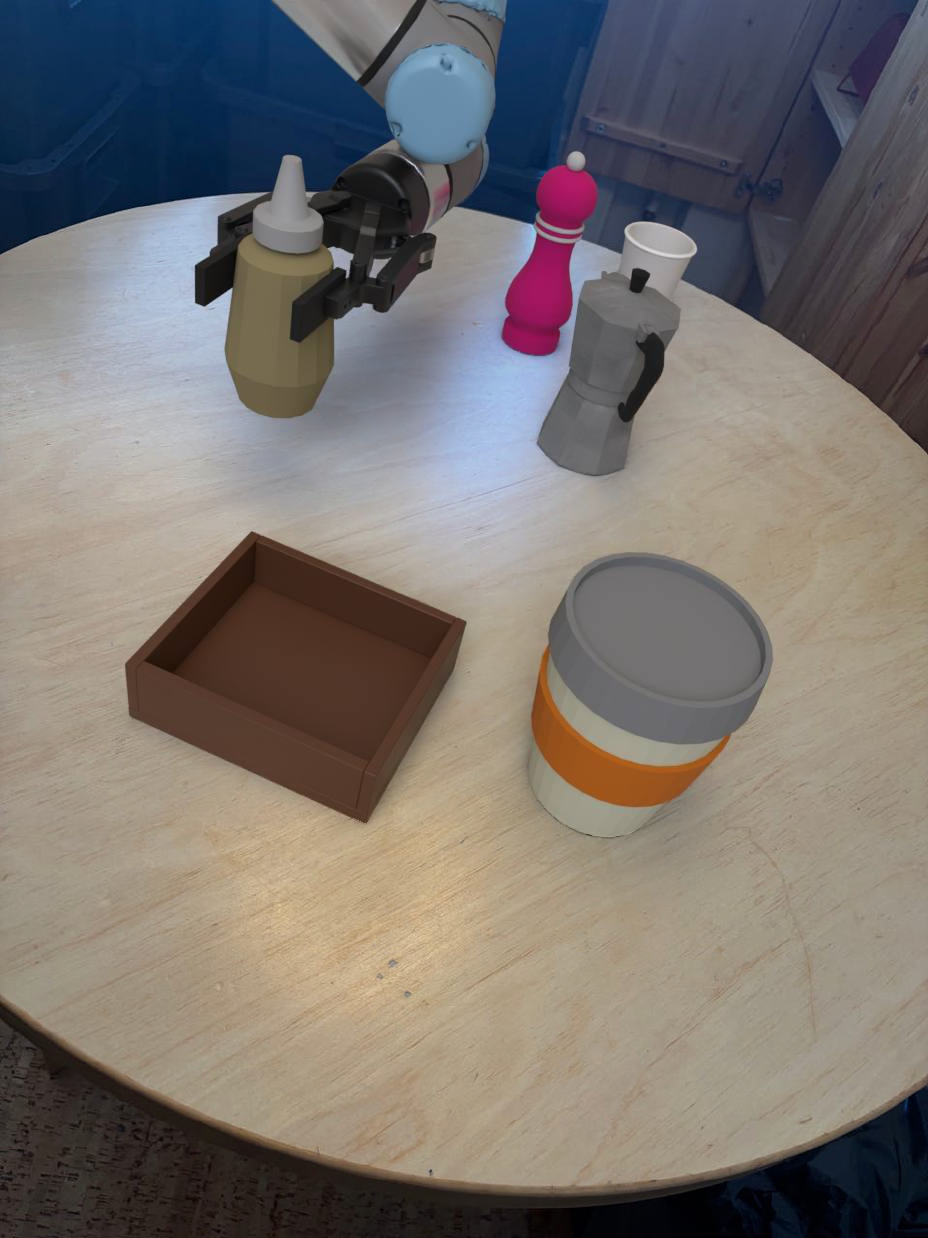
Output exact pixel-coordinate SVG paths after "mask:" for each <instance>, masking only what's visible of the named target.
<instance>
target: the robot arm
mask: <svg viewBox="0 0 928 1238" xmlns="http://www.w3.org/2000/svg"><path fill="white" fill-rule="evenodd" d="M269 1H270V2H271V3H272V4H273V5H274V6H276V7H277V9H279V11H281V12H282V13H283V14H284V15H285V16H286V17H287V18H288V19H289V20H290V21H291V22H292V23H293V24H295V26H296V27H297V28H299V29H300V30H301V31H302V32H303V34H305V35H306V36H307V37H308V38H309V39H310V40H311V41H312V42H314V43H315V44H316V46H318V47H319V49H320V50H322V51H323V52H324V53H325V54H326V55H327V56H328V57H329V58H330V59H332V61H334V62H335V63H336V64H337V65H338V66H339V67H340V68H341V69H342V70H343V71H344V72H345V73H346V74H347V75H348V76H350V78H352V80H354V81H355V83H356V84H358V85H359V86H360V87H361V88H362V89H363V90H364V91H365V92H366V93H367V94H368V95H369V96H370V97H371V98H372V99H373V100H374V101H375V103H377V104H378V105H379V106H380V107H381V108H383V110H385V116H386V120H387V122H388V126H389V129H390V131H391V134H392V135H393V138H392V139H391V140H390V141H388V142H386V143H385V144H382V145H381V146H379V147H378V148H376V149H374V150H372V151H371V152H369V153H368V154H367V155H365V156H364V157H362V158H361V159H359V160H357V161H356V162H354V163H353V164H351V165H349V166H348V167H347V168H345V169H344V170H343V171H342V172H341V173H340V174H339V175H338V176H337V178H336V179H335V181H334V182H333V183H332V185H331V187H330V188H329V190H324V191H318V192H315V193H314V194H313V195H312V196H306V197H307V205H308V207H310V208H312V209H314V210H315V211H316V212H318V213H319V214H320V215H321V216H322V219H323V222H324V225H323V236H322V244H323V245H324V246H325V247H326V248H327V249H331V248H335V249H340V250H342V251H344V252H346V253H349V254H351V255H352V259H349V268H348V269H349V271H348V269H345V268H342V267H339V266H335V267H334V270H332V271H331V272H330V273H329V274H328V275H326V276H325V277H323V278H322V279H321V280H320V281H318V282H317V283H316V284H314V285H313V286H312V287H311V288H309V289H308V290H307V291H305V292H304V293H303V294H302V295H300V296H299V297H298V298H297V299H295V300H294V301H293V302H292V313H291V327H290V340H293V341H295V342H298V343H301V342H302V341H303V340H304V339H305V338H306V337H308V336H309V335H310V334H311V333H312V332H313V331H315V330H316V329H317V328H318V327H319V326H320V325H322V324H323V323H324V322H325V321H326V320H327V319H329V318H333V319H334V320H336V321H337V320H340V319H342V318H344V317H345V316H346V315H347V314H348V313H349V312H351V311H352V310H353V309H354V308H358V309H359V308H361V307H363V305H364V304H368V305H371V308H372V310H373V311H375V312H377V313H380V314H385V313H388V312H389V311H390V310H391V309H392V307H393V306H394V305H395V303H397V301H398V300H399V298H400V297H401V296H402V295H403V293H404V292H405V291H406V290H407V288H408V287H409V286H410V284H411V283H412V282H413V281H414V279H415V278H416V277H417V275H420V274H422V273H424V272H426V271H429V270H430V269H432V267H433V262H434V257H435V251H436V245H437V235H436V234H434V233H432V232H426V231H428V230H429V229H430V228H431V227H432V226H434V225H435V224H436V223H437V222H438V221H440V219H442V218H443V217H444V216H445V215H446V214H447V213H449V212H450V211H451V210H453V208H456V207H457V206H459V205H461V204H462V203H464V202H465V201H467V200H468V199H469V197H470V196H471V195H472V194H473V193H474V191H475V189H476V188H478V187H479V185H480V184H481V182H482V180H483V179H484V177H485V175H486V174H487V170H488V166H489V163H490V162H489V161H490V150H489V149H490V148H489V145H488V141H487V137H486V133H487V130H488V127H489V124H490V121H491V119H492V118H493V116H494V110H495V108H496V86H495V82H496V76H497V75H496V74H497V66H498V65H497V64H498V54H499V50H500V46H501V45H500V44H501V40H502V34H503V30H504V27H505V24H506V11H507V10H506V9H507V3H508V0H269ZM273 192H274V189H273V190H271V191H269V192H266V193H265V194H263V195H261V196H260V195H259V196H258V197H256V198H254V199H252V200H250V201H248V202H245V203H243V204H241V205H239V206H236V207H234V208H232V209H230V210H228V211H226V212H224V213H220V214H219V215H217V226H216V227H217V230H216V231H217V233H216V234H217V236H216V237H217V239H216V240H217V241H216V242H217V243H216V244H217V245H215V246H213V247H211V248H210V250H209V255H208V256H207V257H205V258H204V259H202V260H200V261H199V262H196V264H194V304H195V305H199V306H201V307H207V306H209V305H210V304H211V303H213V302H214V301H216V300H218V298H220V297H222V296H223V295H224V294H226V293H227V292H228V291H230V290H231V289H232V288H233V281H234V273H235V266H236V258H237V251H238V245H239V244H240V243H241V241H242V240H243V239H244V238H245V237H247V236H248V235H250V234H252V233H253V210H254V209H255V208H256V207H257V205H259V204H262V203H264V202H267V201H271V199H272V196H273ZM375 260H379V261H380V260H388V261H387V262H386V263H385V264H384V265H383V267H382V268H381V269H380V270H379V271H378V273H377V274H376V276H375V277H373V276H370V275H371V271H372V270H373V266H374V261H375ZM347 271H348V276H347Z"/></svg>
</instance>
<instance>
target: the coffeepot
mask: <svg viewBox="0 0 928 1238" xmlns="http://www.w3.org/2000/svg"><path fill="white" fill-rule="evenodd" d="M618 272H619V271H618ZM618 272H617V271H613V272H610V273H608V272H607V271H606V270H602V271H601V278H596V279H588V280H584V281H583V284H582V286H581V289H580V293H579V297H578V301H577V309H576V315H575V321H574V329H573V335H572V336H573V337H572V340H571V341H572V342H571V349H570V355H569V362H568V366H569V371H568V373H567V374H566V377H565V379H564V380H563V383H562V385H561V386H560V389H559V391H558V393H557V394H556V396H555V398H554V400H553V401H552V404H551V406H550V407H549V410H548V412H547V414H546V416H545V418H544V419H543V422H542V425H541V428H540V431H539V434H538V437H537V441H536V443H537V445H538V446H539V447H540V449H541V450H542V452H543V453H544V454H545V455H546V457H548V458H549V459H550V460H551V461H553V462H554V463H556V464H557V465H558V466H560V467H563V468H564V469H566V470H569V471H572V472H574V473H578V474H582V475H586V476H587V475H588V476H606V475H610V474H613V473H616V472H617V471H619V470H622V469H625V466H626V461H627V455H628V449H629V445H630V441H631V434H632V430H633V425H634V420H635V415H636V414H637V413H638V411H639V410H640V408H641V407H642V405H643V404H644V402H645V400H646V399H647V397H648V396H649V394H651V393H650V392H651V391H652V390H653V388H654V387H655V386H656V384H657V383H658V381H659V379H660V378H661V377H662V375H663V372H664V369H665V352H666V351H667V348H668V347H669V345H670V343H671V342H672V340H673V338H674V336H675V334H676V332H677V331H678V330H679V328H680V321H681V320H680V319H681V312H682V308H680V307H679V306H678V305H677V304H676V303H674V302H673V301H672V300H671V299H670V300H669V299H668V298H666V297H665V296H664V295H663V294H661V293H660V292H659V291H657V290H656V289H655V288H651V287H648V286H645V284H646V283H647V281H648V279H649V277H650V273H649V272H647V271H646V270H643V269H640V268H634V269H632V274H631V280H630V279H629V278H627V277H626V276H625V275H621V274H620V273H618Z"/></svg>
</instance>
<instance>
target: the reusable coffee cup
mask: <svg viewBox="0 0 928 1238" xmlns="http://www.w3.org/2000/svg"><path fill="white" fill-rule="evenodd" d="M549 621H550V622H549V627H548V632H547V639H548V641H547V646H546V647H545V650H544V651H543V653H542V655H541V662H540V664H539V665H540V666H539V671H538V675H537V680H536V681H537V682H536V686H535V693H534V698H533V702H532V708H531V714H530V718H531V719H530V720H531V732H532V734H533V739H532V743H531V748H530V754H529V759H528V764H527V772H528V774H529V776H528V780H529V784H530V783H531V784H530V788H531V787H532V788H531V790H532V789H533V790H532V792H533V791H534V792H533V794H534V796H535V795H536V796H537V798H538V800H539V801H540V802H541V803H540V802H539V801H538V800H537V801H538V802H539V803H540V805H541V804H542V805H543V806H544V807H543V806H542V805H541V806H542V807H543V809H544V808H546V810H547V811H548V812H549V813H551V814H552V815H553V816H555V818H557V819H558V820H559V821H561V822H562V823H565V825H567V826H570V827H572V828H574V829H576V830H579V831H582V832H584V833H588V834H592V835H600V836H616V835H623V834H627V833H629V832H632V831H635V830H637V829H639V828H640V827H641V828H643V827H644V826H645V825H646V824H647V823H648V822H650V820H651V819H652V818H653V817H654V815H655V814H656V813H657V812H659V810H661V808H662V807H663V806H664V804H666V803H668V802H670V801H672V800H674V799H677V798H678V797H679V796H681V795H682V794H683V793H684V792H686V790H687V789H688V788H689V787H691V785H692V784H693V783H694V782H695V781H696V780H697V779H698V778H699V777H700V775H701V774H702V773H703V772H704V771H705V770H706V769H707V768H708V767H709V766H710V765H711V764H712V762H714V760H715V759H716V758H717V757H718V756H719V755H720V754H721V753H722V752H723V751H724V749H725V747H726V746H727V744H728V742H729V741H730V740H731V736H732V734H733V733H736V732H737V731H738V730H739V729H740V728H741V727H742V726H743V725H745V724H746V723H747V721H748V720H749V719H750V717H751V716H752V713H753V712H754V710H755V709H756V707H757V704H758V701H759V699H760V697H761V695H762V693H763V690H764V688H765V686H766V684H767V682H768V679H769V678H770V675H771V671H772V667H773V663H774V653H773V652H774V651H773V644H772V641H771V637H770V634H769V631H768V629H767V627H766V626H765V623H764V621H763V620H762V618H761V617H760V615H759V613H757V612H756V610H755V609H754V607H753V606H752V605H751V604H750V603H749V601H748V600H746V599H745V598H744V597H743V596H742V595H741V594H740V593H739V592H738V591H737V589H735V588H734V587H732V586H731V585H729V584H728V583H726V582H725V581H724V580H722V579H721V578H719V577H718V576H716V575H714V574H713V573H711V572H709V571H707V570H706V569H703V568H701V567H699V566H698V565H694V564H692V563H690V562H687V561H685V560H681V559H678V558H675V557H671V556H667V555H663V554H658V553H651V552H644V551H643V552H640V551H639V552H638V551H636V552H634V551H632V552H631V551H626V552H618V553H612V554H608V555H604V556H601V557H599V558H596V559H594V560H592V561H590V562H588V563H587V564H586V565H584V566H582V568H580V570H579V571H577V573H576V574H575V575H574V576H573V578H572V580H571V581H570V584H569V585H568V587H567V588H566V591H565V593H564V595H563V596H562V598H561V600H560V602H559V603H558V605H557V608H556V610H555V611H554V613H553V615H552V616H551V619H550V620H549ZM528 774H527V775H528ZM536 796H535V797H536ZM537 798H536V799H537ZM546 810H545V811H546ZM547 811H546V812H547ZM548 812H547V813H548ZM549 813H548V814H549ZM553 816H552V817H553ZM555 818H554V819H555ZM559 821H558V822H559ZM562 823H561V824H562ZM645 823H646V824H645ZM644 824H645V825H644ZM565 825H564V826H565ZM643 825H644V826H643ZM642 826H643V827H642ZM641 828H640V829H641ZM640 829H639V830H640ZM637 831H638V830H637ZM635 832H636V831H635Z"/></svg>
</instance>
